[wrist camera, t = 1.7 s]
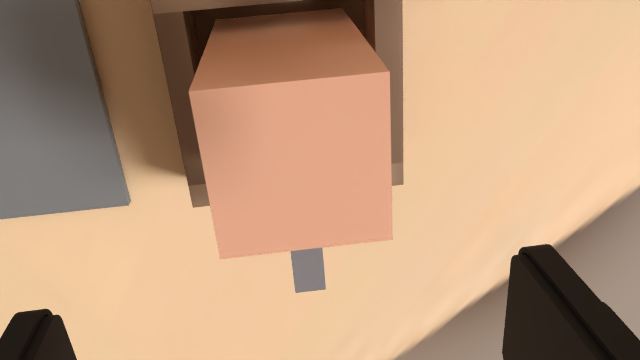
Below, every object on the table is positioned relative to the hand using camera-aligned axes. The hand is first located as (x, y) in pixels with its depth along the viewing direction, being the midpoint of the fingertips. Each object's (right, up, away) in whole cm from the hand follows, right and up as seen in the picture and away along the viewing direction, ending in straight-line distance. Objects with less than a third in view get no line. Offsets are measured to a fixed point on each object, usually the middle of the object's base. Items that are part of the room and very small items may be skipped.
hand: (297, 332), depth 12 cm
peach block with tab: (-1, +7, +17) cm, 18 cm away
